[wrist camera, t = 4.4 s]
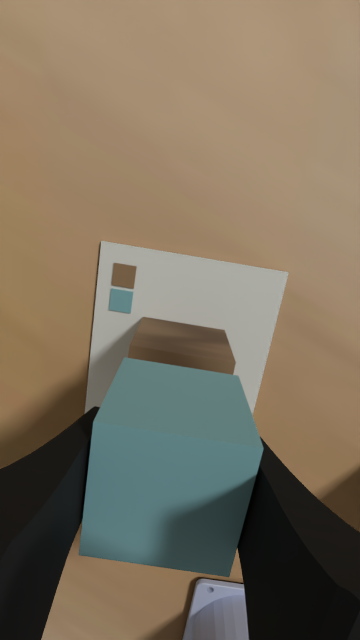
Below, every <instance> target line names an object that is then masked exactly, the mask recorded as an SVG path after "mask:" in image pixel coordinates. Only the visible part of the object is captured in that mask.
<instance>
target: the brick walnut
mask: <svg viewBox="0 0 360 640" xmlns="http://www.w3.org/2000/svg"><path fill="white" fill-rule="evenodd" d="M128 358H132V359H138V360H144V361H150V362H157V363H163V364H169V365H175V366H182V367H188V368H194V369H200V370H206V371H213V372H219V373H225V374H231V375H233V373H234V369H235V364H236V361H235V358H234V356H233V353H232V350H231V347H230V344H229V341H228V338H227V335H226V332H225V330H222V329H216V328H210V327H203V326H197V325H191V324H185V323H179V322H173V321H167V320H161V319H155V318H148V317H143V318H142V320H141V322H140V324H139V326H138V328H137V330H136V333H135V335H134V337H133V339H132V341H131V343H130V345H129V352H128Z"/></svg>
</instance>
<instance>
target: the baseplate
mask: <svg viewBox="0 0 360 640" xmlns="http://www.w3.org/2000/svg"><path fill="white" fill-rule="evenodd" d="M288 273H289V272H285V271H279V270H273V269H267V268H261V267H255V266H249V265H243V264H237V263H231V262H225V261H219V260H213V259H208V258H202V257H196V256H190V255H184V254H178V253H172V252H166V251H160V250H154V249H148V248H142V247H136V246H130V245H124V244H118V243H112V242H107V241H101V249H100V260H99V270H98V280H97V291H96V301H95V311H94V322H93V332H92V342H91V353H90V363H89V373H88V384H87V394H86V404H85V413H86V412H88V411H89V410H90V409H91V408H93V407H94V406H96V407H101V405H102V403H103V401H104V398H105V396H106V394H107V392H108V390H109V388H110V386H111V384H112V382H113V380H114V378H115V376H116V373H117V371H118V369H119V367H120V365H121V363H122V361H123V359H124V357H126V358H128V352H129V345H130V343H131V341H132V339H133V337H134V335H135V333H136V330H137V328H138V326H139V324H140V322H141V320H142V318H143V317H148V318H155V319H161V320H167V321H173V322H179V323H185V324H191V325H197V326H203V327H210V328H216V329H222V330H225V332H226V335H227V338H228V341H229V344H230V347H231V350H232V353H233V356H234V358H235V361H236V364H235V369H234V373H233V375H237V376H239V378H240V381H241V384H242V387H243V390H244V393H245V396H246V399H247V402H248V405H249V407H250V410H251V413H252V415H253V411H254V407H255V403H256V400H257V396H258V392H259V388H260V384H261V380H262V376H263V372H264V368H265V364H266V360H267V356H268V352H269V348H270V344H271V340H272V336H273V332H274V328H275V324H276V321H277V317H278V313H279V309H280V305H281V301H282V297H283V293H284V289H285V285H286V281H287V277H288Z"/></svg>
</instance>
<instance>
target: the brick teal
mask: <svg viewBox="0 0 360 640" xmlns="http://www.w3.org/2000/svg"><path fill="white" fill-rule="evenodd" d="M263 449H264V448H263V445H262V442H261V439H260V436H259V434H258V431H257V428H256V425H255V422H254V419H253V416H252V413H251V410H250V407H249V405H248V402H247V399H246V396H245V393H244V390H243V387H242V384H241V381H240V378H239V376H237V375H231V374H225V373H219V372H213V371H206V370H200V369H194V368H188V367H182V366H175V365H169V364H163V363H157V362H150V361H144V360H138V359H132V358H126V357H124V359H123V361H122V363H121V365H120V367H119V369H118V371H117V373H116V376H115V378H114V380H113V382H112V384H111V386H110V388H109V390H108V392H107V394H106V396H105V398H104V401H103V403H102V405H101V407H100V409H99V411H98V413H97V415H96V417H95V419H94V421H93V429H92V438H91V447H90V456H89V466H88V475H87V484H86V493H85V502H84V512H83V521H82V530H81V539H80V548H79V555H82V556H89V557H95V558H102V559H109V560H116V561H123V562H130V563H136V564H143V565H150V566H157V567H164V568H171V569H177V570H184V571H191V572H198V573H205V574H212V575H218V576H225V577H229V576H230V572H231V568H232V565H233V561H234V557H235V553H236V550H237V546H238V542H239V538H240V535H241V531H242V527H243V524H244V520H245V516H246V512H247V509H248V505H249V501H250V497H251V494H252V490H253V486H254V483H255V479H256V475H257V471H258V468H259V464H260V460H261V457H262V453H263Z"/></svg>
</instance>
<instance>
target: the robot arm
mask: <svg viewBox="0 0 360 640" xmlns="http://www.w3.org/2000/svg"><path fill="white" fill-rule="evenodd" d="M99 409H100V407H96V406H94V407H93V408H91V409H90V410H89V411H88V412H86V413H85V414H84V415H83V416H82V417H80V418H79V419H78V420H77V421H76V422H74V423H73V424H72V425H71V426H69V427H68V428H67V429H65V430H64V431H63V432H62V433H60V434H59V435H58V436H56V437H55V438H53V439H52V440H50V441H49V442H47V443H46V444H45V445H43V446H42V447H40V448H39V449H37V450H36V451H34V452H32V453H31V454H29V455H27V456H25V457H24V458H22V459H20V460H18V461H16V462H15V463H13V464H11V465H9V466H7V467H4V468H2V469H0V640H41V638H42V635H43V631H44V628H45V625H46V622H47V619H48V615H49V612H50V609H51V606H52V603H53V599H54V596H55V593H56V590H57V587H58V584H59V580H60V577H61V574H62V571H63V568H64V565H65V562H66V559H67V556H68V553H69V551H70V548H71V545H72V543H73V540H74V538H75V536H76V533H77V531H78V529H79V526H80V524H81V522H82V519H83V512H84V502H85V493H86V484H87V475H88V466H89V456H90V447H91V438H92V429H93V421H94V419H95V417H96V415H97V413H98V411H99ZM260 439H261V442H262V445H263V448H264V449H263V453H262V457H261V460H260V464H259V468H258V471H257V475H256V479H255V483H254V486H253V490H252V494H251V497H250V501H249V505H248V509H247V512H246V516H245V520H244V524H243V527H242V531H241V535H240V538H239V542H238V546H237V548H238V553H239V558H240V563H241V569H242V575H243V582H244V584H238V583H231V582H224V581H217V580H210V579H199V580H198V581H197V582H196V585H195V589H194V593H193V597H192V602H191V606H190V610H189V614H188V618H187V623H186V627H185V631H184V635H183V639H182V640H360V533H359V532H358V531H356V530H355V529H354V528H352V527H351V526H350V525H348V524H347V523H346V522H345V521H343V520H342V519H341V518H340V517H338V516H337V515H336V514H335V513H333V512H332V511H331V510H330V509H329V508H328V507H326V506H325V505H324V504H323V503H322V502H321V501H320V500H318V499H317V498H316V497H315V496H314V495H313V494H312V493H311V492H310V491H309V490H308V489H307V488H306V487H305V486H304V485H303V484H302V483H301V482H300V481H299V480H298V479H297V478H296V477H295V476H294V475H293V474H292V473H291V472H290V471H289V470H288V468H287V467H286V466H285V465H284V464H283V463H282V462H281V461H280V459H279V458H278V457H277V456H276V455H275V454H274V452H273V451H272V450H271V449H270V448H269V447H268V445H267V444H266V443H265V442H264V441H263V439H262V438H261V437H260Z"/></svg>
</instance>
